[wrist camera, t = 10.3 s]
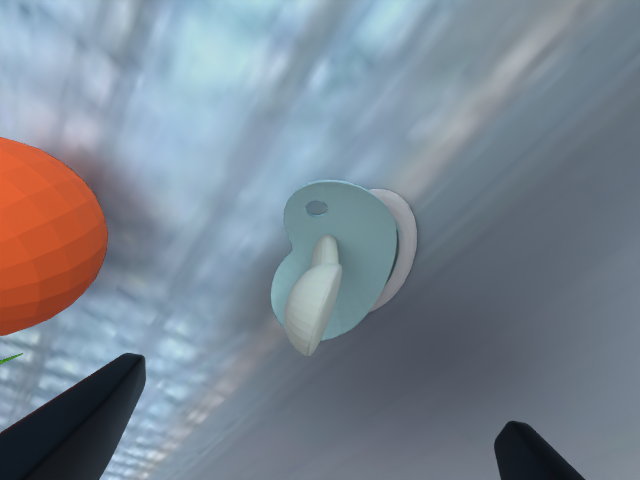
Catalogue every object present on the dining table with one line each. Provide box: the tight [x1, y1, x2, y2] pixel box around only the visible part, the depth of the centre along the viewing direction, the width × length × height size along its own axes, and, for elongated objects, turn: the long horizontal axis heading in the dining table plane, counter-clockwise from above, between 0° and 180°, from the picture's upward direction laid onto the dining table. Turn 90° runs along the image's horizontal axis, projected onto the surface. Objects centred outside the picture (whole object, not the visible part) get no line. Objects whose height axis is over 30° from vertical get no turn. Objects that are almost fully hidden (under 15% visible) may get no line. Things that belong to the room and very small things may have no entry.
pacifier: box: [271, 179, 417, 357], centre depth 12 cm, size 7×6×6 cm
